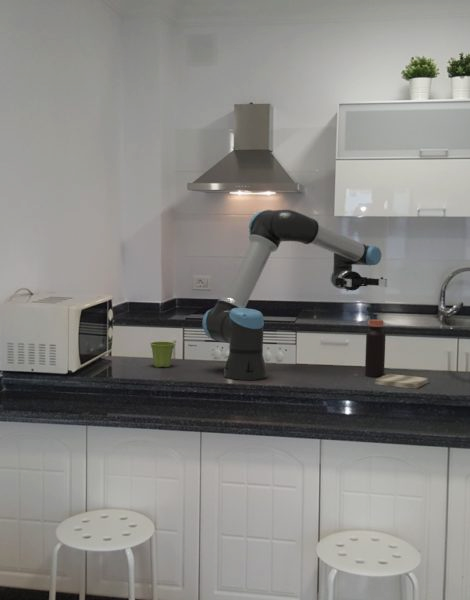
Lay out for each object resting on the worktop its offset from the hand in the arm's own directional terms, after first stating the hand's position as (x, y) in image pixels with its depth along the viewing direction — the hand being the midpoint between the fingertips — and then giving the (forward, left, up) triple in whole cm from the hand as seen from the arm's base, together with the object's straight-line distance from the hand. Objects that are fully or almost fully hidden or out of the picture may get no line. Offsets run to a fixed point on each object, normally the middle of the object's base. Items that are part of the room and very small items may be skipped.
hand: (368, 283), depth 260 cm
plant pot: (-67, -36, -33) cm, 82 cm away
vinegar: (+6, -7, -33) cm, 34 cm away
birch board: (+18, -15, -33) cm, 40 cm away
